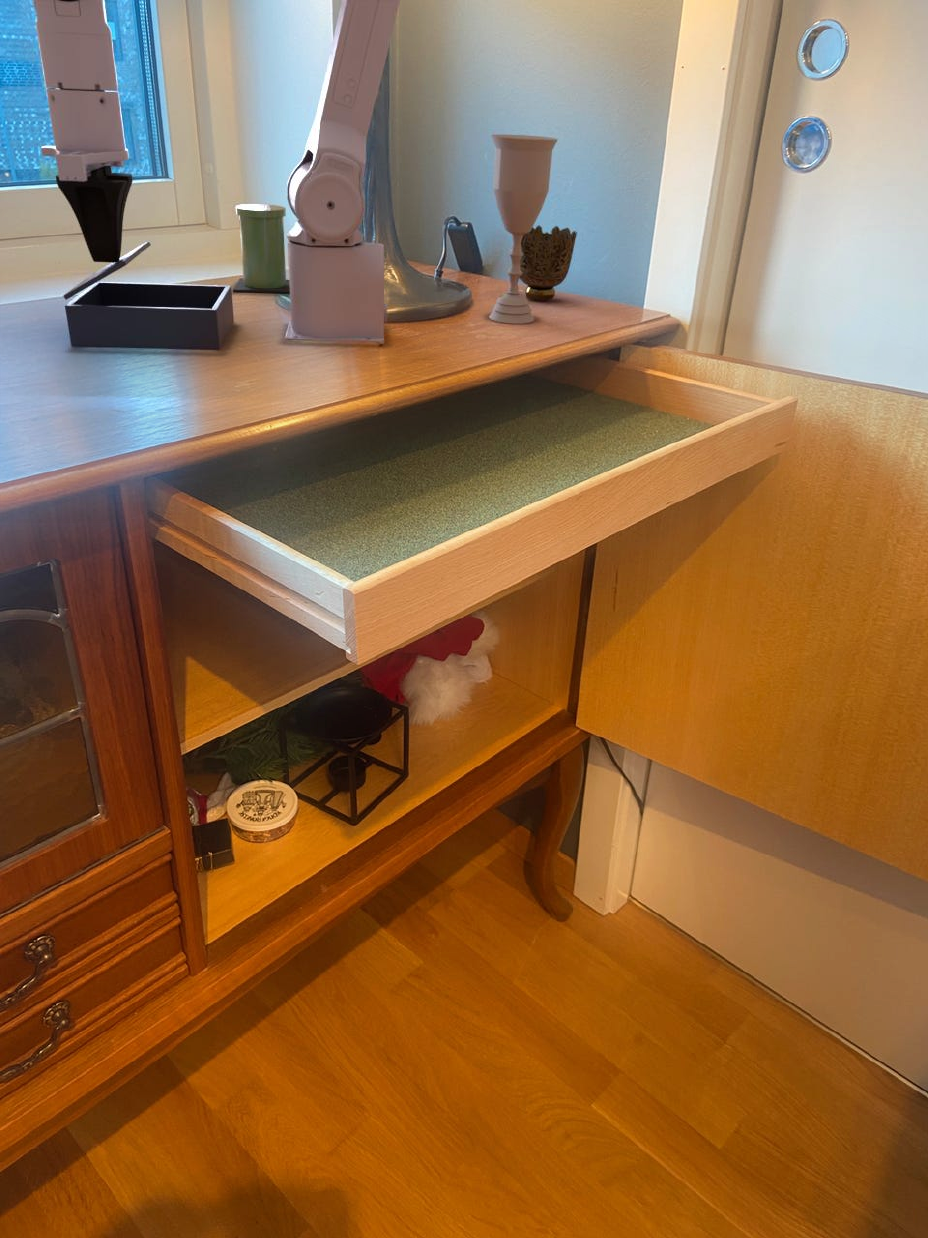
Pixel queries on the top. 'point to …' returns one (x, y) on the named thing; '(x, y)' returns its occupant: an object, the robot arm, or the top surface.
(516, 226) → the chalice
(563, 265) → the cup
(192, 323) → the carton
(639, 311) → the top surface
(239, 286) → the mat
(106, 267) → the flap
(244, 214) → the pot
